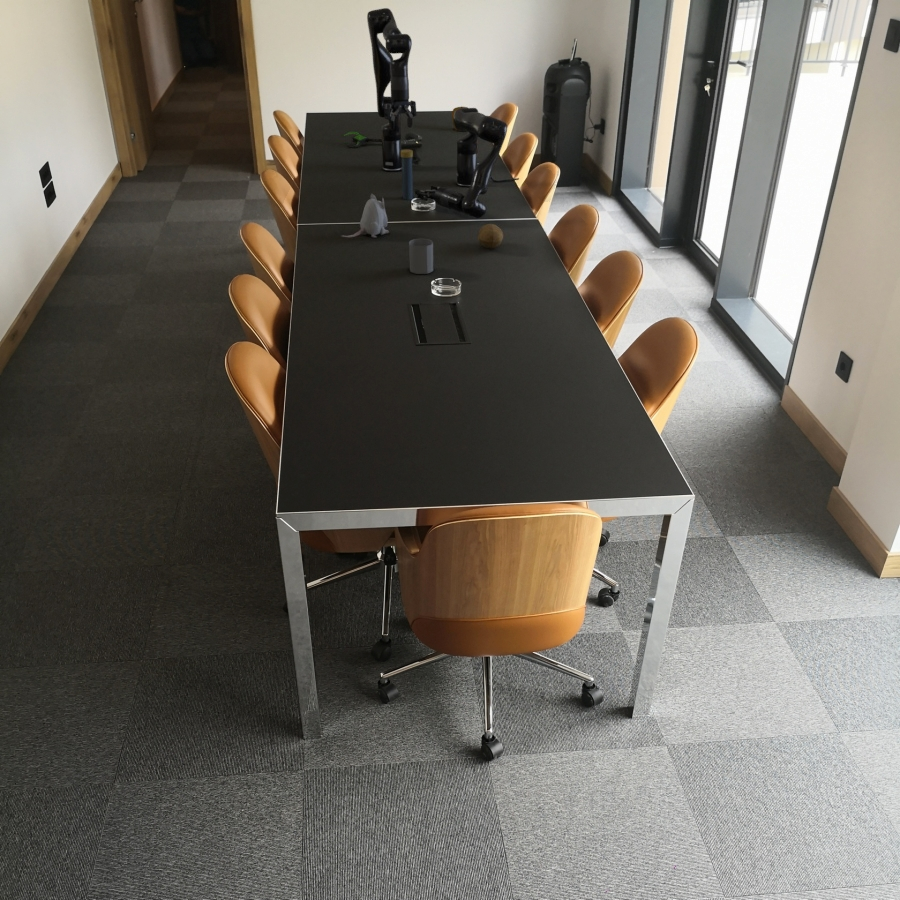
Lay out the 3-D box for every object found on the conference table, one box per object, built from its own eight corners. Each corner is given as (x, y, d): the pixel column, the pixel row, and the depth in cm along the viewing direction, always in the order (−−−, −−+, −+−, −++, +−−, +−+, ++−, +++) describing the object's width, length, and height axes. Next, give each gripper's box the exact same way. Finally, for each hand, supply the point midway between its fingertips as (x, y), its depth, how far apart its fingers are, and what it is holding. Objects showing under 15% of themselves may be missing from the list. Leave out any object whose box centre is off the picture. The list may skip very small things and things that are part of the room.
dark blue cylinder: (403, 196, 383) (402, 150, 373) (413, 197, 383) (412, 150, 372) (402, 199, 380) (400, 153, 369) (412, 200, 379) (411, 153, 368)
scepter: (399, 128, 463) (342, 126, 461) (399, 144, 456) (341, 141, 454) (398, 138, 468) (343, 136, 466) (398, 153, 461) (342, 151, 459)
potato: (500, 240, 334) (501, 219, 330) (505, 252, 323) (505, 231, 318) (475, 240, 334) (475, 220, 330) (479, 253, 322) (479, 232, 318)
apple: (471, 132, 486) (471, 108, 479) (451, 132, 486) (451, 108, 479) (470, 128, 495) (471, 104, 488) (452, 128, 495) (452, 104, 488)
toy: (394, 233, 341) (393, 195, 333) (349, 248, 327) (347, 208, 319) (379, 228, 347) (377, 190, 338) (334, 242, 332) (331, 203, 324)
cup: (409, 265, 311) (408, 238, 306) (432, 265, 312) (431, 238, 307) (410, 274, 304) (409, 246, 299) (433, 273, 305) (433, 246, 299)
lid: (401, 154, 374) (401, 149, 373) (413, 154, 373) (413, 149, 372) (399, 157, 370) (399, 152, 368) (411, 157, 369) (411, 152, 368)
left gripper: (409, 84, 363) (410, 125, 372) (380, 87, 356) (381, 129, 365) (419, 87, 358) (419, 128, 366) (389, 90, 351) (391, 132, 360)
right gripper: (460, 186, 362) (436, 177, 372) (434, 192, 354) (410, 183, 365) (460, 203, 366) (436, 195, 377) (434, 210, 358) (410, 201, 369)
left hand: (400, 128), depth 366 cm, fingers open, 8 cm apart
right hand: (423, 189), depth 371 cm, fingers open, 8 cm apart
